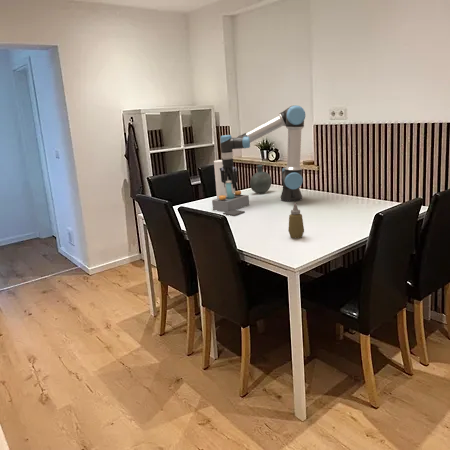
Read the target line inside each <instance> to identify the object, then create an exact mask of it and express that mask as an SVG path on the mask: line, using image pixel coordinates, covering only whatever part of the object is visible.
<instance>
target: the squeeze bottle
mask: <svg viewBox="0 0 450 450" xmlns="http://www.w3.org/2000/svg"><path fill="white" fill-rule="evenodd" d="M288 233H289V236H290V239H297V240H298V239H302V238H303V236H304V233H305V227H304V220H303V214H302V213H301V210H300V209H299V208H298V205H297V203H296V202H294V203H293V208H292V209H291V210H290V214H289V217H288Z"/></svg>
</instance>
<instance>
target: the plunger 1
mask: <svg viewBox="0 0 450 450" xmlns="http://www.w3.org/2000/svg"><path fill="white" fill-rule="evenodd" d="M219 199H220V201H225V199H226V195H220V196H219Z"/></svg>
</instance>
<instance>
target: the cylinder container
mask: <svg viewBox="0 0 450 450" xmlns="http://www.w3.org/2000/svg"><path fill="white" fill-rule="evenodd" d="M213 167H214V179H215V191H216V193H215V194H216V199H218V198H219V196H220V195H226V196H227V193H226V191H225V187H224V183H223V182H221V171H220V168H222V167H223V164H222V159H216V160H213ZM227 180H229V178H228V179H227Z"/></svg>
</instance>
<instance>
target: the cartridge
mask: <svg viewBox="0 0 450 450" xmlns="http://www.w3.org/2000/svg"><path fill="white" fill-rule="evenodd" d="M231 183H232V181H231V179H228V180H227V181H226V188H227V199H233V198H234V194H235V193H232V188H231Z"/></svg>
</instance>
